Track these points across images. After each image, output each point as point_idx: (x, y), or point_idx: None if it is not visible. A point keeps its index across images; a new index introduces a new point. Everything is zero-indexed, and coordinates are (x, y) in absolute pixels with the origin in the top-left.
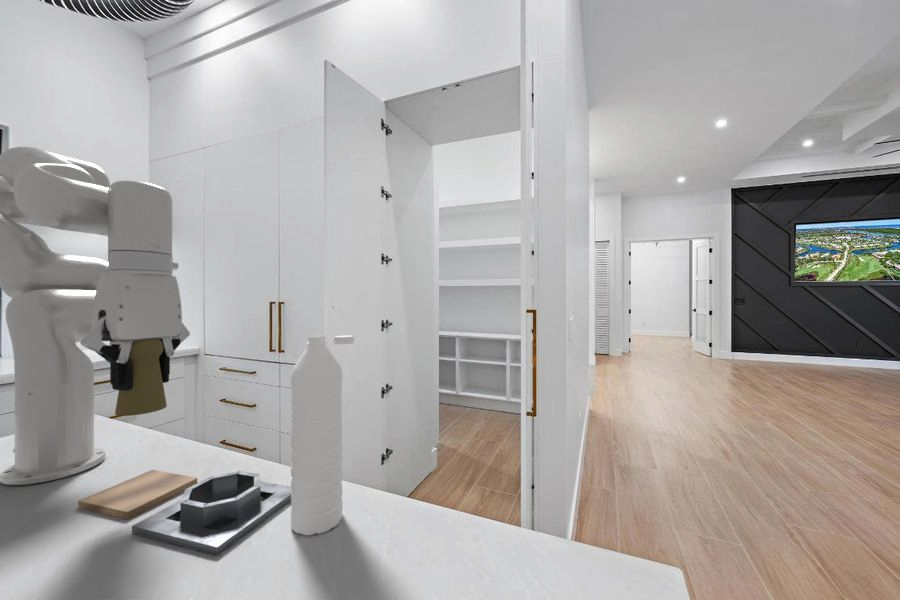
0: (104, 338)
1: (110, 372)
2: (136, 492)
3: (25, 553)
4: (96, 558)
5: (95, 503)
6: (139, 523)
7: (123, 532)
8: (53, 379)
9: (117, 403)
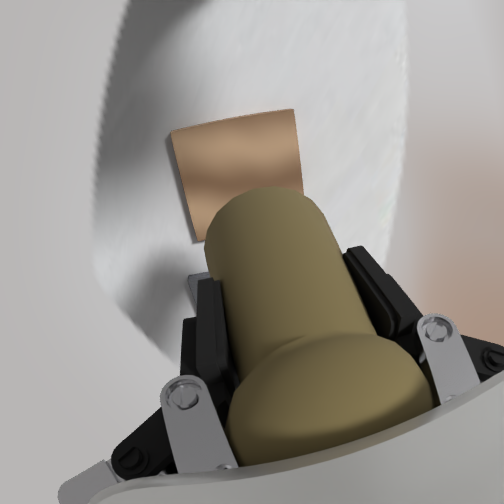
0: (159, 492)
1: (181, 352)
2: (231, 185)
3: (105, 216)
4: (152, 290)
5: (181, 170)
6: (195, 282)
7: (184, 263)
8: None
9: (209, 258)
